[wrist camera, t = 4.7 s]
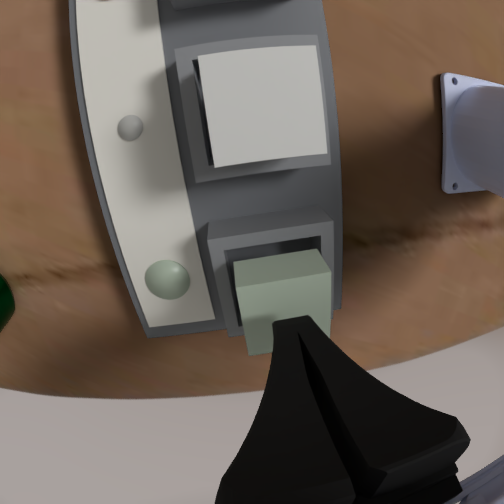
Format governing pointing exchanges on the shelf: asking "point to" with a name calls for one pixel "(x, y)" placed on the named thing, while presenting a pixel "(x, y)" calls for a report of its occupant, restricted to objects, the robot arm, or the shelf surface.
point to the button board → (246, 174)
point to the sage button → (281, 294)
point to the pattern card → (141, 157)
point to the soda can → (5, 303)
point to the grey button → (263, 104)
